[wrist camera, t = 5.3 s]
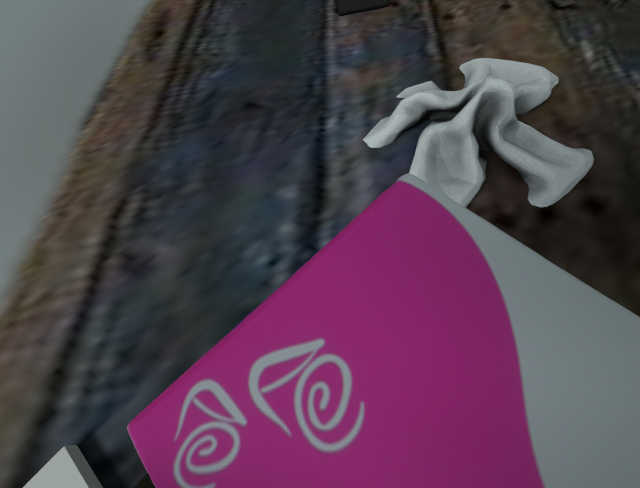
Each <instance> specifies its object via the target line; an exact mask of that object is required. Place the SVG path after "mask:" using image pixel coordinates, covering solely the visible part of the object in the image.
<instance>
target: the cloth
mask: <svg viewBox="0 0 640 488" xmlns="http://www.w3.org/2000/svg"><path fill="white" fill-rule="evenodd" d="M460 70H461V71H462V72H463V73H464V75H465V85H464V89H462V90H459V91H441V90H440V89H439V88H438V87H437V85H436V84H435V83H434V82H432V81H429V82H426V83H422V84H419V85H416V86H412V87H409V88H406V89H405V90H404V91H402V92H401V93H400V94H399V95H398V96H397V98H400V97H401V98H405V99H403V100H401V102H400V103H399V105H398V106H397V108H396V109H395V111H394V112H393V114H392V115H391V116H389V117H387V118H384V119H382V120H381V121H380V122H379V123H378V124H377V125H376V126H375V127H374V128H373V129H372V130H371V131H370V132H369V134H368V135H367V136H366V137H365V138H364V139H363V140H364V141H365V142H366V143H367V144H368V146H369V147H371V148H378V147H382V146H385V145H387V144H390V143H392V142H393V141H394V140H395V139H396V138H397V137H398V136H399V135H400V134H401V133H402V132H403V131H405V130H407V129H408V128H410V127H412V126H414V125H415V124H417V123H419V122H421V121H422V120H426V119H430V120H431V121H432V122H431V123H430V124H429V125H428V126H427V127H426V128H425V129H424V131H423V132H422V133H421V135H420V137H419V140H418V143H417V147H416V152H415V156H414V159H413V162H412V166H411V169H410V172H409V174H412V175H414V176H416V177H418V178H419V179H421V180H423V181H424V182H426V183H427V184H429V185H430V186H432V187H433V188H435V189H437V190H439V191H440V192H442V193H443V194H445V195H446V196H448V197H449V198H451V199H452V200H454V201H455V202H457V203H459V204H460V205H462V206H463V207H465V208H466V207H467V206H468V205H469V203H470V202H471V201H472V199H473V198H474V196H475V195H476V194H477V192H478V191H479V190H480V188H481V186H482V184H483V182H484V181H485V179H486V177H485V170H486V166H487V162H488V160H487V159H486V158H485V157H483V156H481V155H480V153H479V152H481V151H482V150H487V151H491V152H493V153H495V154H497V155H498V156H499V157H500V158H501V159H502V160H504V161H505V162H507V163H508V164H509V165H511V166H512V167H514V168H515V169H516V170H517V171H518V172H519V173H520V175H521V176H522V178H523V180H524V181H525V182H526V183H527V184H528V186H529V194H528V200H529V202H530V204H531V205H534V206H538V207H548V206H549V205H552V204H554V203H555V202H557V201H558V200H560V199H561V198H562V197H564V196H565V195H566V194H567V193H568V192H569V191H570V190H571V189H572V188H573V187H574V186H575V185H576V184H577V183H578V182H579V181H580V180H581V179H582V178H583V177H584V176H585V175H586V174H587V172H588V171H589V169H590V168H591V167H592V165H593V161H594V158H593V155H592V152H591V151H590V150H587V149H573V148H569V147H567V146H564V145H562V144H560V143H558V142H556V141H554V140H552V139H550V138H548V137H546V136H545V135H543V134H542V133H540V132H539V131H537V130H535V129H534V128H532V127H531V126H529V125H526V124H524V123H522V122H520V121H518V120H517V117H516V115H515V114H526V113H528V112H530V111H531V110H532V109H534V108H535V107H537V106H538V105H540V104H541V103H542V102H543V101H545V100H547V99H548V97H549V96H550V94H551V89H552V88H553V87H554V85H556V84H557V83H558V81H559V78H558V77H557V76H556V75H554V74H553V73H551V72H550V71H548V70H547V69H545V68H544V67H541V66H537V65H533V64H529V63H522V62H516V61H509V60H500V59H491V58H480V59H474V60H471V61H469V62H466V63H464V64H462V65H461V66H460Z"/></svg>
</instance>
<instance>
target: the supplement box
mask: <svg viewBox="0 0 640 488" xmlns="http://www.w3.org/2000/svg"><path fill="white" fill-rule="evenodd" d="M127 430H128V432H129V435H130V437H131V439H132V441H133V444H134V446H135V448H136V450H137V452H138V454H139V456H140V458H141V461H142V463H143V465H144V466H145V468H146V470H147V472H148V474H149V475H150V478H151V480H152V482H153V484H154V486H155V487H156V488H640V317H639V316H637V315H636V314H634V313H632V312H631V311H629V310H627V309H626V308H624V307H622V306H621V305H619V304H618V303H616V302H614V301H613V300H611V299H609V298H608V297H606V296H604V295H603V294H601V293H600V292H598V291H596V290H595V289H593V288H592V287H590V286H588V285H587V284H585V283H584V282H582V281H580V280H579V279H577V278H576V277H574V276H572V275H571V274H569V273H568V272H566V271H564V270H563V269H561V268H559V267H558V266H556V265H555V264H553V263H552V262H550V261H548V260H547V259H545V258H544V257H542V256H541V255H539V254H538V253H536V252H535V251H533V250H531V249H530V248H528V247H527V246H525V245H523V244H522V243H520V242H519V241H517V240H516V239H514V238H512V237H511V236H509V235H508V234H506V233H505V232H503V231H501V230H500V229H498V228H497V227H495V226H494V225H492V224H490V223H489V222H487V221H486V220H484V219H483V218H481V217H479V216H478V215H476V214H475V213H473V212H471V211H470V210H468V209H467V208H465V207H463V206H462V205H460V204H459V203H457V202H455V201H454V200H452V199H451V198H449V197H448V196H446V195H445V194H443V193H442V192H440V191H439V190H437V189H435V188H433V187H432V186H430V185H429V184H427V183H426V182H424V181H423V180H421V179H419V178H418V177H416V176H414V175H412V174H409V173H408V174H405V175H403V176H401V177H400V178H399V179H398V180H397V181H396V182H395V183H394V184H393V185H392V186H391V187H390V188H388V189H387V190H386V191H385V192H384V193H382V194H381V195H380V196H379V197H378V198H377V199H376V200H375V201H374V202H373V203H371V204H370V205H369V206H368V207H367V208H366V209H365V210H364V211H363V212H362V213H361V214H359V215H358V216H357V217H356V218H355V219H354V220H353V221H352V222H351V223H350V224H349V225H347V226H346V227H345V228H344V229H343V230H342V231H341V232H340V233H339V234H338V235H336V236H335V237H334V238H333V239H332V240H331V241H330V242H329V243H328V244H326V245H325V246H324V247H323V248H322V249H321V250H320V251H319V252H318V253H316V254H315V255H314V256H313V257H312V258H311V259H310V260H309V261H308V262H307V263H305V264H304V265H303V266H302V267H301V268H300V269H299V270H298V271H297V272H295V273H294V274H293V275H292V276H291V277H290V278H289V279H288V280H287V281H286V282H285V283H283V284H282V285H281V286H280V287H279V288H278V289H277V290H276V291H275V292H274V293H272V294H271V295H270V296H269V297H268V298H267V299H266V300H265V301H264V302H263V303H262V304H260V305H259V306H258V307H257V308H256V309H255V310H253V311H252V312H251V313H250V314H248V315H247V316H246V317H245V318H244V319H243V320H242V321H241V322H240V323H239V324H238V325H237V326H236V327H235V328H234V329H232V330H231V331H230V332H229V333H228V334H227V335H226V336H225V337H224V338H223V339H222V340H221V341H219V342H218V343H217V344H216V345H215V346H214V347H213V348H211V349H210V350H209V351H208V352H207V353H206V354H205V355H203V356H202V357H201V358H200V359H199V360H198V361H197V362H196V363H195V364H194V365H193V366H192V367H190V368H189V369H188V370H187V371H186V372H185V373H184V374H183V375H182V376H181V377H179V378H178V379H177V380H176V381H175V382H174V383H173V384H172V385H171V386H169V387H168V388H167V389H166V390H165V391H164V392H163V393H162V394H161V395H159V396H158V397H157V398H156V399H155V400H154V401H153V402H152V403H151V404H149V405H148V406H147V407H146V408H145V409H144V410H143V411H142V412H141V413H139V414H138V415H137V416H136V417H135V418H134V419H133V420H132V421H131V422H130V423H129V424H128V426H127Z"/></svg>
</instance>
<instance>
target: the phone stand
mask: <svg viewBox="0 0 640 488" xmlns="http://www.w3.org/2000/svg"><path fill="white" fill-rule="evenodd" d="M334 1H335V4H336V7H337V11H338V14H339V16H341V15H346V14H352V13H357V12H362V11H367V10H372V9H377V8H382V7H387V6H388V4H389V0H334Z"/></svg>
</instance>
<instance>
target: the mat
mask: <svg viewBox="0 0 640 488" xmlns="http://www.w3.org/2000/svg"><path fill="white" fill-rule="evenodd" d="M23 488H103V487H102V485H101V484H100V482H99V480H98V479H97V477H96V476H95V474H94V472H93V471H92V469H91V467H90V466H89V464H88V462H87V461H86V459H85V458H84V456H83V454H82V453H81V451H80V449H79V448H78V446H77V445H72V446H64V447H63V448H62V449H61V450H60V451H59V452H58V453H57V454H56V455H55V456H54V457H53V458H52V459H51V460H50V461H49V462H48V463H47V464H46V465H45V466H44V467H43V468H42V469H41V470H40V471H39V472H38V473H37V474H36V475H35V476H34V477H33V478H32V479H31V480H30V481H29V482H28V483H27V484H26V485H25V486H24V487H23Z"/></svg>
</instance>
